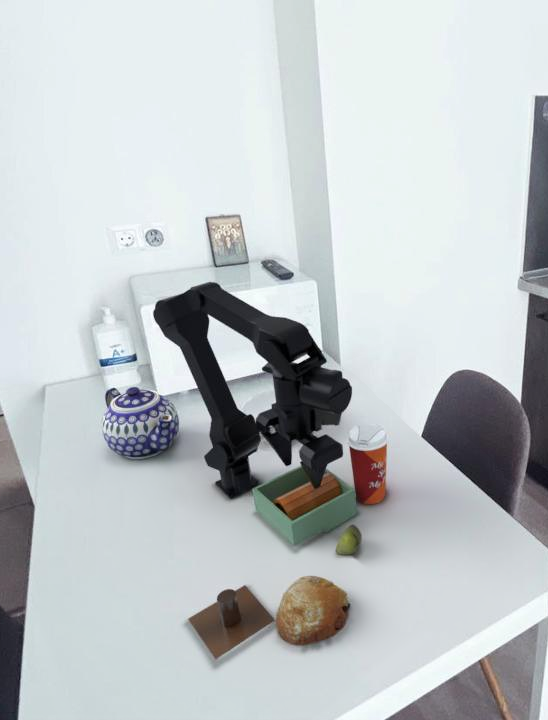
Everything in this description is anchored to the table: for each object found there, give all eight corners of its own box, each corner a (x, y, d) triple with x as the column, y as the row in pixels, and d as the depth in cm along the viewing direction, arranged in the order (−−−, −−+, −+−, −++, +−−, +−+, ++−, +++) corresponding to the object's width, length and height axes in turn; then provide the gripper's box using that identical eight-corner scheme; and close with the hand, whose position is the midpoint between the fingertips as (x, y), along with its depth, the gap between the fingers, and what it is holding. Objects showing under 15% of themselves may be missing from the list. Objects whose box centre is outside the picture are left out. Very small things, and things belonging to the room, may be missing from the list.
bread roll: (297, 610, 85) (269, 577, 81) (356, 585, 83) (330, 550, 80) (289, 669, 76) (257, 634, 72) (355, 641, 74) (325, 604, 71)
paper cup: (384, 510, 101) (382, 446, 95) (345, 505, 102) (340, 441, 96) (394, 485, 108) (393, 423, 102) (357, 480, 109) (353, 419, 103)
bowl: (329, 425, 129) (327, 399, 126) (280, 457, 117) (277, 429, 114) (281, 408, 137) (278, 383, 134) (230, 437, 125) (226, 410, 122)
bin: (256, 513, 100) (252, 488, 98) (316, 483, 109) (313, 459, 106) (294, 550, 92) (291, 524, 89) (356, 514, 100) (355, 489, 98)
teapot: (86, 443, 123) (68, 384, 117) (150, 416, 134) (136, 361, 128) (143, 484, 109) (126, 419, 103) (209, 450, 120) (197, 390, 114)
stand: (188, 623, 78) (181, 595, 76) (246, 589, 84) (241, 562, 82) (216, 665, 72) (209, 635, 70) (276, 625, 78) (271, 596, 76)
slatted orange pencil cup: (292, 523, 92) (345, 495, 99) (278, 495, 94) (330, 469, 101) (284, 531, 96) (335, 503, 103) (270, 504, 98) (321, 478, 105)
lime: (336, 563, 89) (334, 539, 87) (335, 542, 93) (332, 519, 91) (364, 559, 90) (362, 535, 88) (360, 538, 94) (359, 515, 92)
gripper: (366, 401, 89) (370, 479, 95) (303, 367, 102) (311, 438, 108) (308, 425, 82) (317, 508, 88) (249, 386, 95) (260, 461, 101)
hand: (302, 475), depth 97 cm, fingers open, 9 cm apart
